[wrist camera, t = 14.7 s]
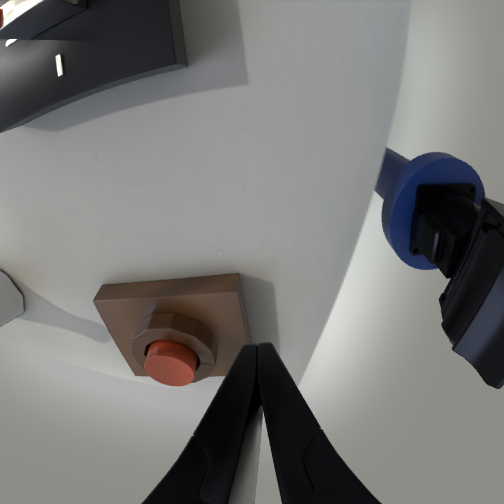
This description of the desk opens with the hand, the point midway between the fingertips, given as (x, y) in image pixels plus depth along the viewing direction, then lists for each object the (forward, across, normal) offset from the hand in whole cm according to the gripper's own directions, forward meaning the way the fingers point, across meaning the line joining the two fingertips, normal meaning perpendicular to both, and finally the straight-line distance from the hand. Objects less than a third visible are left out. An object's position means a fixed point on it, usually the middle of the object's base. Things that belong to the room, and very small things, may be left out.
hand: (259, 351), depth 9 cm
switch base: (+13, +10, -15) cm, 22 cm away
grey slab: (+10, +10, -15) cm, 21 cm away
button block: (+13, +8, +11) cm, 19 cm away
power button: (+9, +8, +11) cm, 17 cm away
